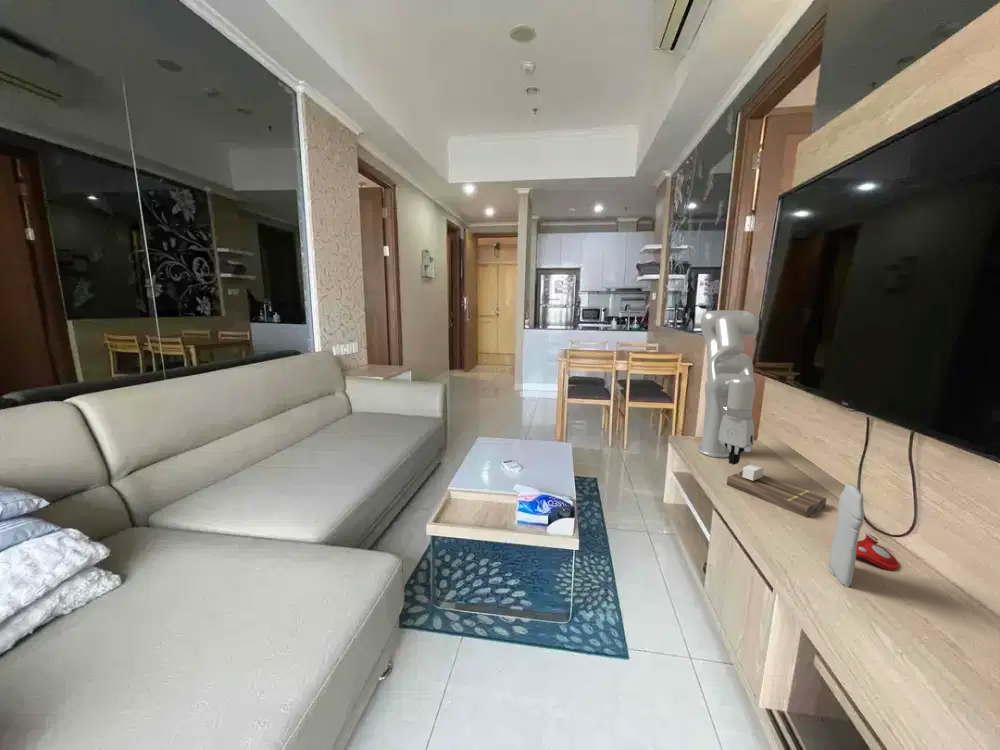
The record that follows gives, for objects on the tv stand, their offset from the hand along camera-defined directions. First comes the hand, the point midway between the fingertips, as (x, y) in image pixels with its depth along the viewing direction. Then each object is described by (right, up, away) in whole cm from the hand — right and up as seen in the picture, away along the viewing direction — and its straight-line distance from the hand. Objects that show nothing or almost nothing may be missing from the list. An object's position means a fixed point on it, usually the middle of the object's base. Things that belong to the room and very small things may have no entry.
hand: (733, 463), depth 142 cm
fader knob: (+4, -5, -4) cm, 8 cm away
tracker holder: (+12, -15, -41) cm, 45 cm away
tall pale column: (-2, -16, -47) cm, 50 cm away
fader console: (+7, -8, -10) cm, 15 cm away
